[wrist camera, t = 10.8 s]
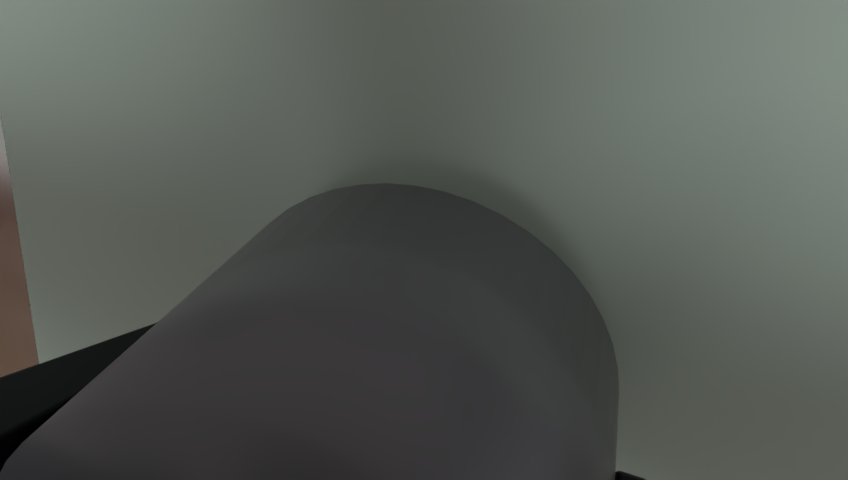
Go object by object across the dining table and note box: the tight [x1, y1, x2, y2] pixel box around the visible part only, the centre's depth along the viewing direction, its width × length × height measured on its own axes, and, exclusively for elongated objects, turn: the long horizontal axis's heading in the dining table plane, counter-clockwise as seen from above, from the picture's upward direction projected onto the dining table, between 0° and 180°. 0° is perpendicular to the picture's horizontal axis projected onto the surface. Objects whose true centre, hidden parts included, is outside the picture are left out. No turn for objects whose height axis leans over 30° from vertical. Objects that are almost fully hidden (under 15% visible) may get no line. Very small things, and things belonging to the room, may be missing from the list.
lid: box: [0, 0, 848, 480], centre depth 11 cm, size 16×16×1 cm
